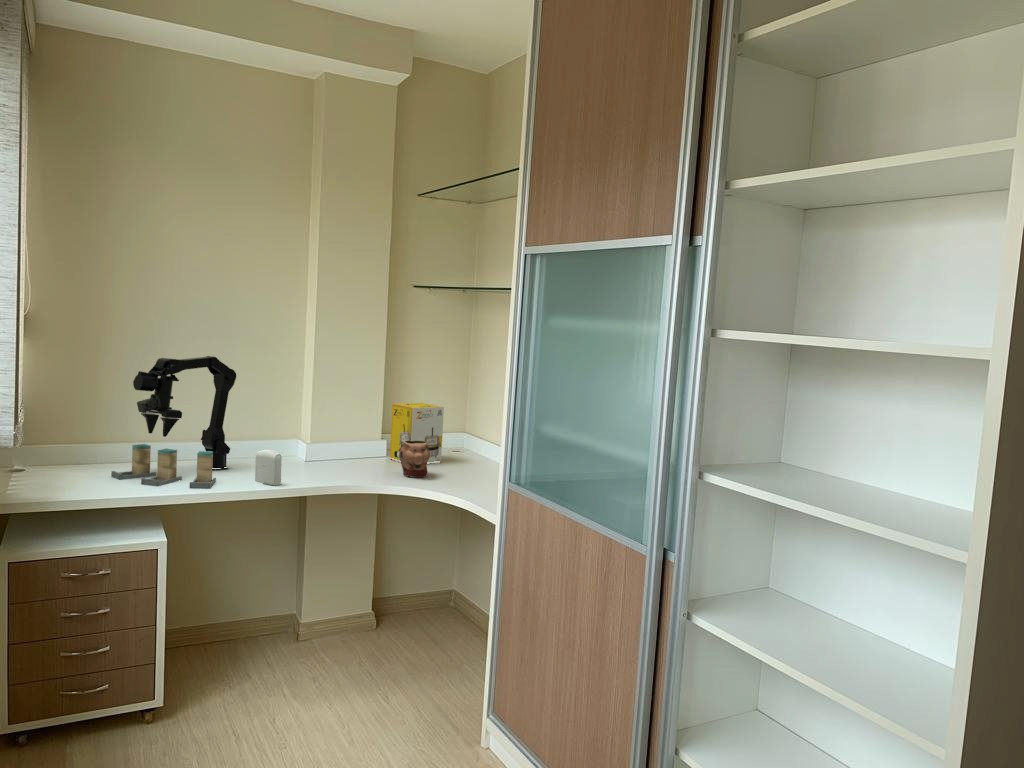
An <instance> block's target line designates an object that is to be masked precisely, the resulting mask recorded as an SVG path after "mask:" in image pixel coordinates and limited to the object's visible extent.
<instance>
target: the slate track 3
mask: <svg viewBox="0 0 1024 768" xmlns="http://www.w3.org/2000/svg"><path fill="white" fill-rule="evenodd" d="M216 481H217V477H212V481H211V482H197V476H196V477H195V478H194V479H193V481H189V489H197V490H199V489H202V490H203V489H204V490H210V489H212V487H213V486H214V484H215V483H216Z"/></svg>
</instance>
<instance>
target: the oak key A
mask: <svg viewBox="0 0 1024 768" xmlns="http://www.w3.org/2000/svg"><path fill="white" fill-rule="evenodd" d="M151 446H152V445H149V444H147V443H146V444H145V443H142V444H140V443H139V444H132V451H131V453H132V454H131V456H132V457H131V459H132V460H131V471H132V475H134V474H143V473H151Z"/></svg>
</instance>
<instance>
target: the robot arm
mask: <svg viewBox="0 0 1024 768" xmlns="http://www.w3.org/2000/svg"><path fill="white" fill-rule="evenodd" d="M201 368H202V369H203V368H204V369H205V368H207V370H208V372H209V373H210V374H211V375H212V376H213V384H214V388H215V392H214V393H215V394H214V398H213V402H212V403H213V404H212V409H211V414H210V419H209V420H210V421H209V426H208V427H207V429H202V435H201V438H200V440H201V444H202V446H203V448H204V451H213V463H212V468H224V467H227V457H228V456H227V455H229V454H230V451H231V447H230V445H228V444H227V443H226V434H225V432H224V421H225V416H226V410H227V409H226V408H227V405H228V399H229V392H230V391H231V389H232V388H233V387H234V385H235V382H236V380H237V373H236V371H235V370H234V369H232V368H230V367H229V366H228V365H226V364H225V363H223V362H222V361H221V360H220V359H219V358H217V357H216V356H211V355H206V356H203V357H202V356H201V357H200V356H199V357H191V358H182V359H177V358H168V357H161V358H158V359H157V360H156V362H155V364H154V365H153V366H152V368H150V370H149V371H148V372H145V371H141V370H139V371H138V373H137V374H136V376H135V377H134V379H133V381H132V385H133V388H134V390H135V391H141V392H142V391H143V392H144V391H145V392H153V393H151V394H150V397H149V398H146V399H142V400H139V401H137V402H136V405H137V410H138V412H139V413H140V415H142V417H143V418H145V422H146V426H147V427H146V428H147V431H148V434H153V431H154V429H155V427H156V424H157V422H158V419H159V416H161V417H160V420H161V421H162V437H165V438H166V437H167V436H168V435H169V433H170V431H171V430H172V429H173V427H174V426H175V425H176V424H177V422H178V421H179V420H180V419H182V418H183V412H182V411H181V410H178V409H175V408H174V409H173V408H172V407H170V406H171V400H173V399H174V396H172V390H173V382H179V381H180V379H179V378H178V377H177V376H176V375H175V374H178V373H180V372H183V371H186V370H195V369H201Z"/></svg>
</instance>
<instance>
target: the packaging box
mask: <svg viewBox="0 0 1024 768" xmlns="http://www.w3.org/2000/svg"><path fill="white" fill-rule="evenodd" d="M391 405H392V407H391V421H390V422H391V423H390V443H389V444H390V445H389V458H390V457H391V458H394V459H397V460H400V459H399V452H400V449H401V448H402V445H403V442H404V441H424V442H426V443H427V446H428V449H429V452H430V458H429V460H428V462H434V461H441V462H442V452H443V451H442V448H443V433H444V432H443V428H444V413H445V411H444V410H445V407H443V406H439V405H435V404H429V403H425V402H404V403H403V402H402V403H401V402H400V403H399V402H398V403H391Z"/></svg>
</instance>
